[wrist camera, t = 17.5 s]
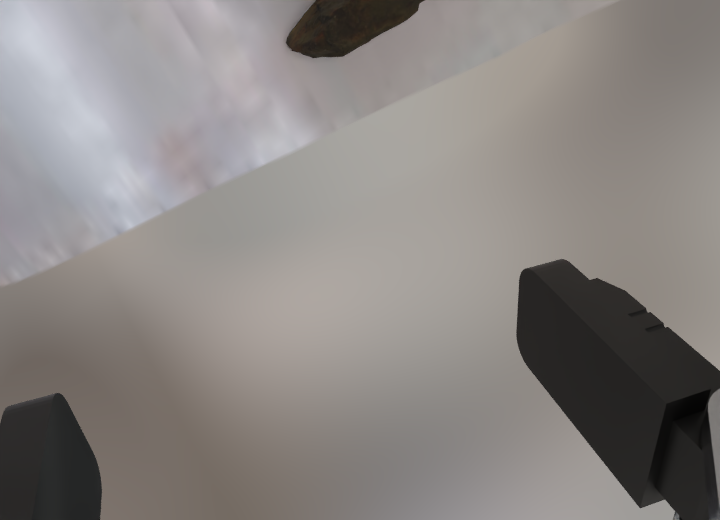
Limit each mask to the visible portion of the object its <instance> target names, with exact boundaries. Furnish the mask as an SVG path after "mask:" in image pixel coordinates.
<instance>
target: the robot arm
mask: <svg viewBox="0 0 720 520" xmlns="http://www.w3.org/2000/svg"><path fill="white" fill-rule="evenodd" d="M518 297H519V298H518V317H517V342H518V347H519V350H520V353H521V355H522V357H523V360H524V362H525V363H526V365H527V366H528V368H529V369H530V370H531V371H532V373H533V374H534V375H535V376H536V378H537V379H538V380H539V381H540V383H541V384H542V385H543V386H544V388H545V389H546V390H547V392H548V393H549V394H550V395H551V397H552V398H553V399H554V400H555V402H556V403H557V404H558V405H559V407H560V408H561V409H562V411H563V412H564V413H565V414H566V416H567V417H568V418H569V419H570V421H571V422H572V423H573V424H574V426H575V427H576V428H577V429H578V431H579V432H580V433H581V434H582V436H583V437H584V438H585V439H586V441H587V442H588V443H589V445H590V446H591V447H592V448H593V450H594V451H595V452H596V453H597V455H598V456H599V457H600V458H601V460H602V461H603V462H604V463H605V465H606V466H607V467H608V468H609V470H610V471H611V472H612V473H613V475H614V476H615V477H616V478H617V480H618V481H619V482H620V484H621V485H622V486H623V487H624V488H625V490H626V491H627V492H628V494H629V495H630V496H631V497H632V499H633V500H634V501H635V502H636V504H637V505H638V506H639V507H640V508H642V507H645V506H648V505H651V504H653V503H656V502H659V501H662V500H664V499H665V500H666V501H667V502H668V503H669V504H670V506H671V507H672V508H673V509H674V510H675V514H674V517H673V520H720V371H719V370H718V369H717V368H716V367H715V366H713V365H712V364H711V363H710V362H708V361H707V360H706V359H705V358H704V357H703V356H701V355H700V354H699V353H698V352H697V351H695V350H694V349H693V348H692V347H691V346H689V344H687V343H686V342H685V341H684V340H683V339H682V338H680V337H679V336H678V335H677V334H676V333H674V332H673V331H672V330H671V329H670V328H668V327H666V328H665V327H664V324H663V322H661V321H660V320H659V319H658V318H657V317H656V316H654V315H653V314H652V313H651V312H649V313H648V312H647V311H646V308H645V307H644V306H643V305H641V304H640V303H639V302H638V301H637V300H635V299H634V298H633V297H632V296H631V295H630V294H628V293H627V292H626V291H625V290H622V289H620V288H618V287H615V286H614V285H611V284H609V283H607V282H605V281H602V280H600V279H598V278H596V279H592V280H589V279H588V278H587V277H586V276H585V275H583V274H582V273H581V272H580V271H579V270H578V269H577V268H575V267H574V266H573V265H572V264H571V263H570V262H568V261H567V260H564V259H560V260H556V261H553V262H549V263H545V264H542V265H538V266H534V267H530V268H527V269H524V270H523V271H522V272H521V275H520V280H519V296H518ZM101 497H102V487H101V477H100V472H99V467H98V464H97V461H96V458H95V455H94V453H93V451H92V449H91V447H90V445H89V443H88V441H87V439H86V438H85V436H84V434H83V432H82V430H81V428H80V426H79V424H78V422H77V420H76V418H75V416H74V414H73V412H72V410H71V408H70V406H69V404H68V402H67V401H66V399H65V398H64V397H63V395H62V394H60V393H55V394H52V395H48V396H45V397H41V398H37V399H33V400H29V401H26V402H22V403H18V404H14V405H11V406H8V407H7V408H6V409H5V411H4V413H3V415H2V419H1V423H0V520H100V512H101Z"/></svg>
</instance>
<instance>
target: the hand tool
mask: <svg viewBox="0 0 720 520" xmlns="http://www.w3.org/2000/svg"><path fill="white" fill-rule="evenodd" d="M422 1H424V0H316V1H315V3H314V4H313V5H312V6H311V7H310V8H309V10H308V11H307V12H306V13H305V14H304V16H303V17H302V18H301V20H300V21H299V23H298V24H297V25H296V26H295V28H294V29H293V30H292V31H291V33H290V34H289V36H288V38H287V41H286V43H287V45H288V47H289V48H290V49H292V51H295V52H300V53H302V54H303V55H307V56H310V57H312V58H317V57H341V56H345V55H346V54H348V53H350V52H351V51H353V50H355V49H356V48H358V47H360V46H362V45H364V44H366V43H367V42H369V41H370V40H371V39H373V38H375V37H376V36H378V35H380V34H381V33H383V32H385V31H387V30H389V29H391V28H393V27H395V26H397V25H399V24H401V23H403V22H404V21H406V20H407V19H409V18H410V17H411V16H412V15H413V14H415V13H416V12H417V11H418V7H419V3H421V2H422Z"/></svg>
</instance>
